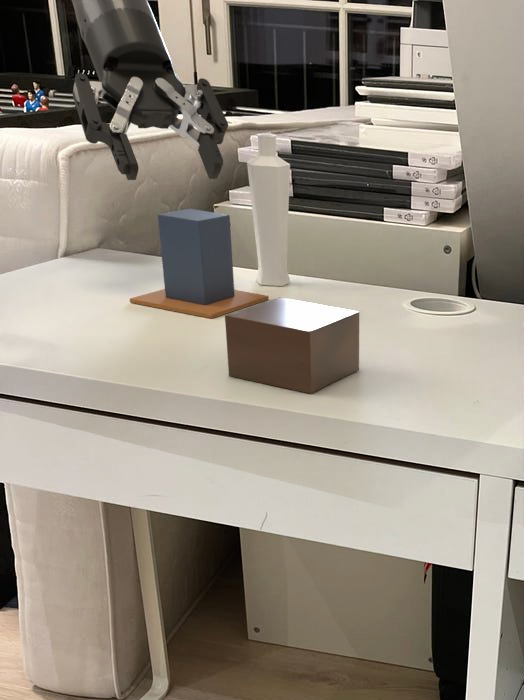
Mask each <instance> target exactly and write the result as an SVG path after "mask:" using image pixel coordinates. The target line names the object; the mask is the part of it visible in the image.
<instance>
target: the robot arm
mask: <svg viewBox="0 0 524 700" xmlns="http://www.w3.org/2000/svg"><path fill="white" fill-rule="evenodd" d="M71 3H72V5H73V8H74V13H75V17H76V22H77V25H78V28H79V32H80V36H81V38H82V40H83V42H84V44H85V46H86V49H87V52H88V55H89V57H90V59H91V62H92V65H93V67H94V69H95V73H96V75H97V78H98V80H99V81H95V80H90V79H89V77H88V76H87V75H86V74H85V73H83V72H77V73H76V74H75V77H74V82H73V90H72V97H73V102H74V104H75V108H76V111H77V114H78V116H79V121H80V124H81V127H82V130H83V133H84V137H85V140H86V141H87V142H88V143H89V144H93V145H94V144H98V142H99V143H102V144H104V145H106V146H107V147H108V148H109V150H110V152H111V154H112V157H113V160H114V162H115V165H116V168H117V170H118V171H119V173H120V174H121V175H125V177H126V180H127V181H136V180H137V178H138V173H139V163H138V161H137V157H136V155H135V153H134V150H133V147H132V145H131V142H130V140H129V137H128V134H127V132H128V130H129V128H130V127H131V124H132V125H135V126H137V128H138V129H149V128H156V129H161V130H162V129H163V130H167V129H170V130H172V131H173V132H175V133H176V134H177V135H178V136H180V137H181V138H187V139H188V140H190V141H191V142H192V143H193V144H194V145H196V146H197V147H198V149H197V151H198V154H199V156H200V159H201V161H202V164H203V167H204V170H205V171H206V175H207V177H208V179H209V180H217V179H218V178H219V175H220V174H221V171H222V169H223V166H224V158H223V155H222V153H221V150H220V148H219V146H218V145H222V144H223V142H224V139H225V135H226V132H227V130H228V128H229V123H228V120H227V118H226V116H225V114H224V112H223V109H222V108H221V107H222V106H221V105H220V103H219V100H218V99H217V97H216V94H215V92H214V90H213V87H212V85H211V83H210V82H209V80H208V79H206V78H202V77H201V78H199V79H198V80H197V83H196V84H184V83H183V82H182V81H181V80H180V79H179V78H178V77H177V75H176V74H175V69H174V66H173V62H172V58H171V57H170V53H169V51H168V48H167V46H166V44H165V41H164V37H163V36H162V33H161V30H160V28H159V26H158V23H157V21H156V18H155V15H154V13H153V11H152V8H151V6H150V3H149V1H148V0H71ZM99 98H102V100H103V101H104V102H105V103H106V104H108V105H109V107H111V108H112V109H114V110H115V113H114V115H113V117H112V119H111V120H110V122H109V123H108V122H105V121H102V117H101V114H100V111H99V108H98V103H99V102H98V101H99ZM180 112H181V114H182V119H180V118H178V116H179V113H180Z"/></svg>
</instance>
